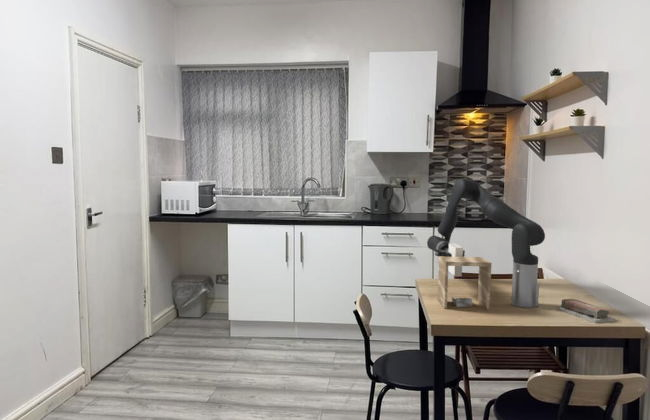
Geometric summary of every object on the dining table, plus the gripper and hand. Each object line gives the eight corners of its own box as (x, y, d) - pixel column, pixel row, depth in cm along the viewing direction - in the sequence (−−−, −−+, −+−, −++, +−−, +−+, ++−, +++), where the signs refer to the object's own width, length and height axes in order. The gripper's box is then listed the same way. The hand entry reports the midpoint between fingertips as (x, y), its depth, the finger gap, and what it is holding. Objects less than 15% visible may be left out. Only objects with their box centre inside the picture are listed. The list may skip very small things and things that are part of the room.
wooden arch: (480, 301, 198) (481, 257, 196) (489, 309, 186) (491, 262, 185) (437, 300, 198) (439, 256, 197) (444, 308, 186) (445, 261, 185)
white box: (454, 270, 211) (455, 243, 210) (461, 276, 200) (462, 247, 198) (447, 270, 212) (448, 243, 210) (454, 276, 200) (455, 247, 198)
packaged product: (556, 298, 188) (576, 296, 191) (556, 310, 188) (575, 308, 191) (596, 311, 171) (617, 309, 174) (595, 324, 171) (616, 322, 174)
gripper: (430, 241, 222) (439, 247, 205) (461, 242, 222) (472, 248, 204) (430, 257, 223) (438, 265, 205) (460, 258, 222) (471, 265, 205)
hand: (455, 256), depth 205 cm, fingers closed on white box, 3 cm apart
